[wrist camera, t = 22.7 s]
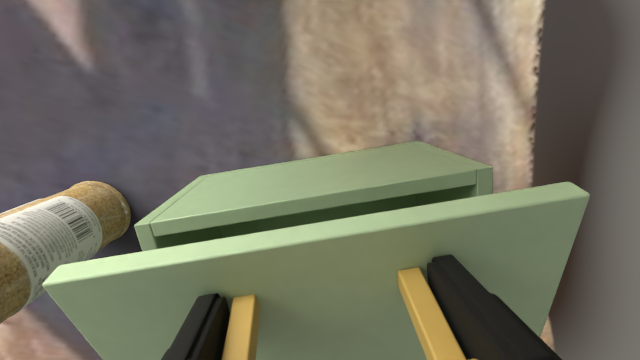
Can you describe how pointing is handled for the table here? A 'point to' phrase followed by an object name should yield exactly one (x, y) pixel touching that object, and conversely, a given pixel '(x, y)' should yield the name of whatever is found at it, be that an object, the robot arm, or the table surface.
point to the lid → (331, 281)
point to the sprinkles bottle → (55, 238)
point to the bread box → (312, 193)
